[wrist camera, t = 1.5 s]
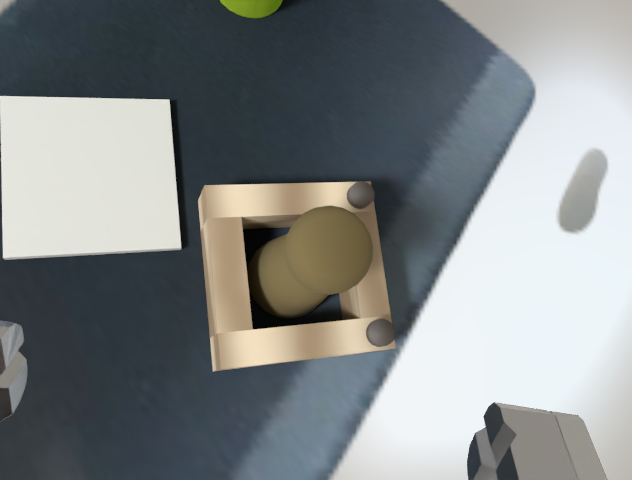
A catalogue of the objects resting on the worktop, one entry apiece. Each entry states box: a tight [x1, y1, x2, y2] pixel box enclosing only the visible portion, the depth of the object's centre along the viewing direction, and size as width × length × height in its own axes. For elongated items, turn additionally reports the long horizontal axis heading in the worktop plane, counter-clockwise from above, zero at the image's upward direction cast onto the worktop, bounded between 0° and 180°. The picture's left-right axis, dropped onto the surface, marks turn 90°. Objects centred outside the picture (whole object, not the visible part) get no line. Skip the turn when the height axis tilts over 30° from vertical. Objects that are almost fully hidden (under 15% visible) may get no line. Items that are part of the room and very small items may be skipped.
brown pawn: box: [247, 205, 373, 319], centre depth 39 cm, size 6×6×11 cm
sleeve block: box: [198, 181, 396, 371], centre depth 42 cm, size 12×12×4 cm
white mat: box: [0, 96, 181, 260], centre depth 41 cm, size 11×11×1 cm
